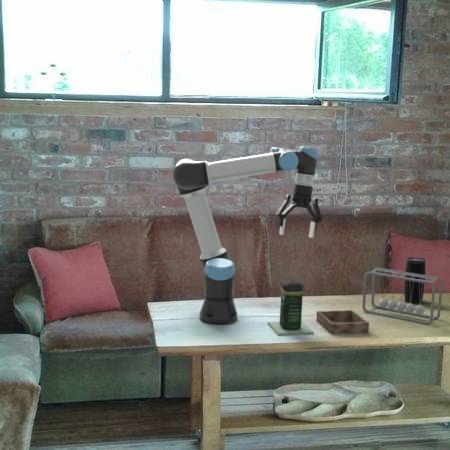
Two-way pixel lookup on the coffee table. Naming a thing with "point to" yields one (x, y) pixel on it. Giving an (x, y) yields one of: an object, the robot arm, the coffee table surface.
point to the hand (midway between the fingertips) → (296, 236)
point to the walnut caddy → (342, 328)
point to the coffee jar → (291, 304)
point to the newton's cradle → (401, 305)
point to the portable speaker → (418, 268)
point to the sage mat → (282, 331)
